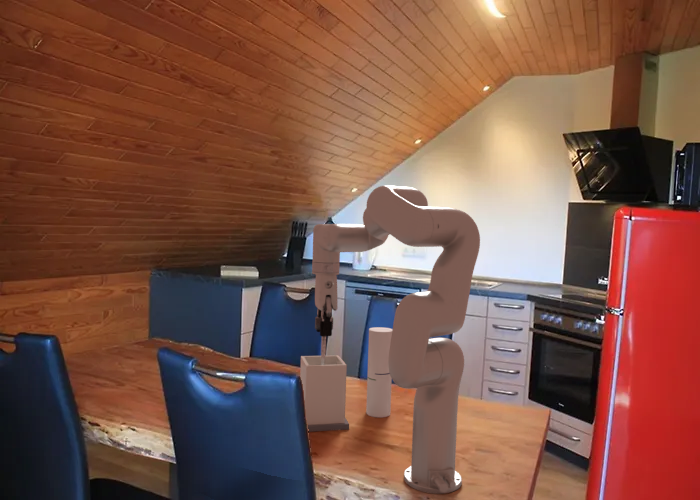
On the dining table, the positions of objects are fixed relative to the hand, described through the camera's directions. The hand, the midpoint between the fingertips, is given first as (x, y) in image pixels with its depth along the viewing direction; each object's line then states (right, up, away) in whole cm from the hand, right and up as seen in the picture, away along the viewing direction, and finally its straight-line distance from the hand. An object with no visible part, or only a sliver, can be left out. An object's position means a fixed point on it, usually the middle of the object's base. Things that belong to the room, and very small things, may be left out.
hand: (323, 333), depth 157 cm
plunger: (-1, -17, +1) cm, 17 cm away
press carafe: (-1, -25, +1) cm, 25 cm away
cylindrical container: (+16, -25, +10) cm, 32 cm away
